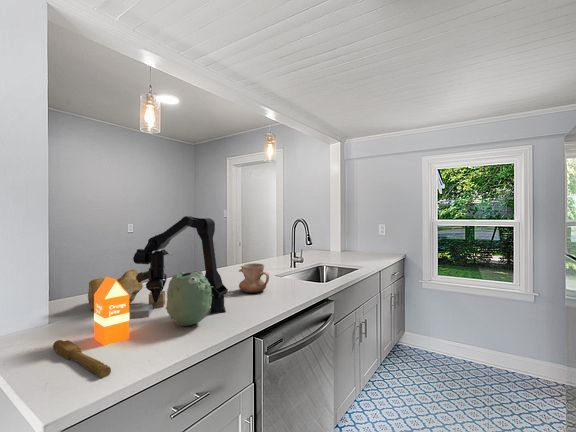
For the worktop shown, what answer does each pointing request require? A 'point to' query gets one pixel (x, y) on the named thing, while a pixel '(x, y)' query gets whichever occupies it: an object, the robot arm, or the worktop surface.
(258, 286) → the ceramic jug
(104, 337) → the orange juice
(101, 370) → the tap handle
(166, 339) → the worktop surface
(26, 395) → the worktop surface
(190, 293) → the green bumpy vase
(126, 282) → the rough brown rock
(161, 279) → the robot arm
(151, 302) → the cube
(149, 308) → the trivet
